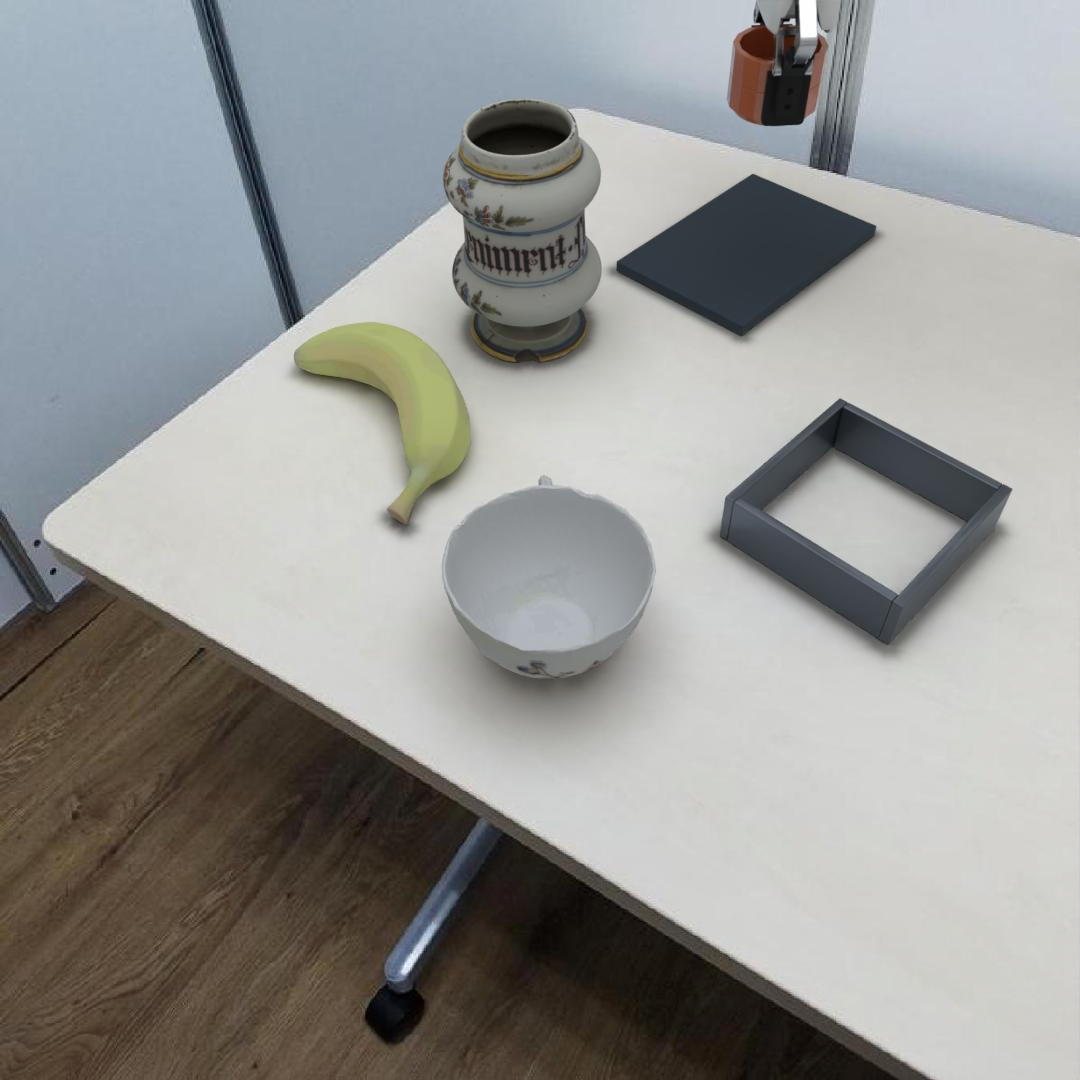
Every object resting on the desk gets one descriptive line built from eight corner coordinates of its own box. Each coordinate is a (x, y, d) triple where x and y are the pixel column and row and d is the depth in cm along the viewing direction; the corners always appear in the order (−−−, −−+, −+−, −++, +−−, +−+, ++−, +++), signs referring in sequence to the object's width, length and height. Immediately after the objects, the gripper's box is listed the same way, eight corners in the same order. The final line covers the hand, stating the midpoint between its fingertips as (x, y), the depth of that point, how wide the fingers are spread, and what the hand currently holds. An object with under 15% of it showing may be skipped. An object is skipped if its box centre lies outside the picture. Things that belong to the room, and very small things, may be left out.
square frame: (829, 437, 76) (840, 397, 73) (994, 528, 70) (1013, 488, 67) (719, 536, 70) (724, 496, 67) (887, 645, 64) (902, 607, 61)
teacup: (657, 721, 61) (665, 644, 55) (450, 727, 61) (435, 651, 55) (638, 532, 71) (643, 450, 65) (459, 538, 71) (447, 457, 65)
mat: (751, 182, 100) (752, 173, 99) (874, 235, 93) (876, 225, 93) (616, 270, 91) (616, 261, 90) (741, 336, 84) (742, 326, 84)
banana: (439, 276, 79) (461, 478, 68) (463, 324, 84) (487, 521, 72) (280, 327, 81) (276, 531, 70) (311, 371, 86) (312, 569, 75)
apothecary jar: (462, 379, 82) (437, 173, 68) (456, 291, 90) (433, 90, 76) (610, 366, 82) (615, 159, 69) (591, 279, 90) (592, 78, 77)
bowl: (761, 79, 84) (770, 15, 80) (833, 105, 80) (846, 40, 77) (708, 110, 81) (715, 45, 77) (781, 138, 77) (792, 73, 73)
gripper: (901, -125, 61) (843, 154, 74) (841, -206, 72) (801, 49, 86) (776, -120, 61) (741, 157, 74) (736, -201, 72) (712, 52, 86)
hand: (773, 97), depth 80 cm, fingers closed on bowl, 7 cm apart
